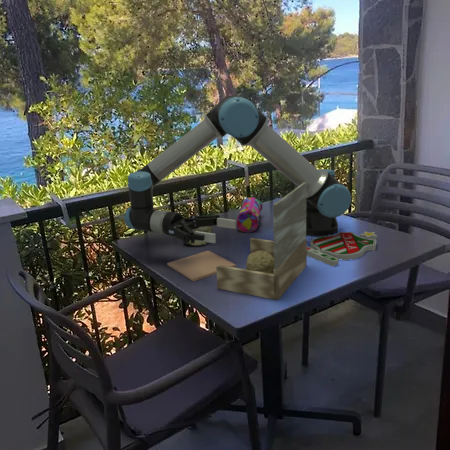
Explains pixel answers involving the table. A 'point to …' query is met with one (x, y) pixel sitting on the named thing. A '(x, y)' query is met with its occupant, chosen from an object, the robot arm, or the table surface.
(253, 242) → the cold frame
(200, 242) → the rock
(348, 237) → the decorative emblem
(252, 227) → the pencil case
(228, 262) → the terracotta tile
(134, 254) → the table surface
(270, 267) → the olive rounded lump
